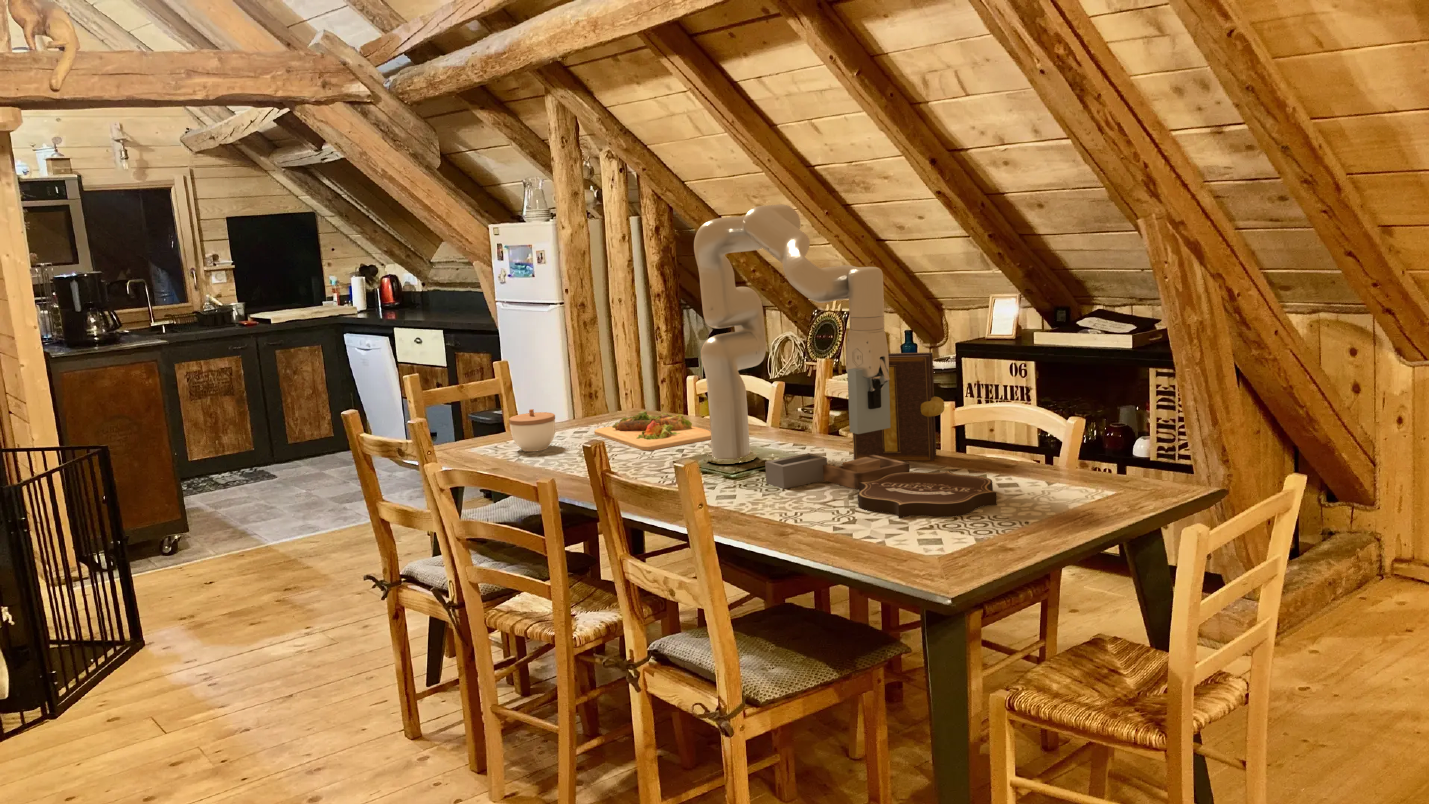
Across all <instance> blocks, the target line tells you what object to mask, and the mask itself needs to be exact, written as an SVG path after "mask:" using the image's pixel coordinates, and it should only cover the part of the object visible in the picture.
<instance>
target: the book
mask: <svg viewBox="0 0 1429 804" xmlns="http://www.w3.org/2000/svg"><path fill="white" fill-rule="evenodd" d="M888 357H889V378H890V379H889V396H890V427H891V428H887V429H882V430H877V431H872V432H867V433H862V434H855V433H852V449H853V450H852V451H853V460H855V459H860V458H864V457H869V455H877V456H881V457H885V458H890V459H894V460H898V461H902V462H906V461H907V462H909V461H910V462H912V461H913V462H932V461H934V457H937V444H936V443H937V439H936V438H937V437H936V418H935V417H937V416H939V415H941V414H943V413H944V411H945V401H944V399H942V398H941V397H939V396H935V387H934V384H935V383H934V362H933V361H934V359H933V358H934V357H933V352H893V353H891V352H888ZM869 458H870V457H869Z"/></svg>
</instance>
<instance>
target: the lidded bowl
mask: <svg viewBox="0 0 1429 804" xmlns="http://www.w3.org/2000/svg"><path fill="white" fill-rule="evenodd" d="M508 422H509V429H510V433H511V437H512V440H513V442H514V443H515V445H517V446H518V447H519V448H520V449H521V450H522V452H537V451H538V452H539V451H544V450H547V449H548V448H549V446H550V445H551V443H552V442H553V441H554V438H555V434H556V414H555V413H553V412H547V411H546V412H543V411H541V412H535V410H534V409H529V411H528V412H527V413H522V414H517V415H513V416H510V417H509V418H508Z"/></svg>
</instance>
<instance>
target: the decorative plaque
mask: <svg viewBox="0 0 1429 804" xmlns="http://www.w3.org/2000/svg"><path fill="white" fill-rule="evenodd" d="M997 500H998V499H997V491H993V480H992V479H991V478H988V477H985V476H980V475H969V474H959V473H953V472H951V470H947V471H942V472H941V471H940V472H917V471H914V472H913V471H910V472H901V473H893V474H889V475H886V476H884V477H882V478H880V479H877V480H874V481H869V482H859V490H858V492H857V506H858V508H859V509H861V510H863V511H866V510H867V512H872V513H873V512H874V513H880V514H881V513H882V514H883V513H884V514H890V515H893V516H894V515H895V516H897V517H898V519H901V518H907V517H908V518H909V517H931V518H932V517H933V518H953V517H961V516H965V515H969V514H970V513H972V512H974V511H975V510H977V509H979V508H982V507H987V506H997V505H998V503H997Z"/></svg>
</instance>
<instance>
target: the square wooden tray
mask: <svg viewBox="0 0 1429 804" xmlns="http://www.w3.org/2000/svg"><path fill="white" fill-rule="evenodd" d="M869 457H870V458H874V459H880V468H878V469H873V470H868V471H864V472H859V473H858V472H854V471H851V470H847V469H843V464H842V465H838V466H836V465H831V464H828V463H827V464H826V465H823V476H824V480H823V481H825V482H829V483H832V484H835V485H838V486H843V487H846V488H849V489H853V490H855V491H856V490H857V491H859V482H869V481H874V480H877V479H880V478H882V477H884V476H886V475H889V474H893V473H901V472H911V470H910V463H909V462H906V461H898V460H894V459H890V458H885V457H881V456H877V455H869Z"/></svg>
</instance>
